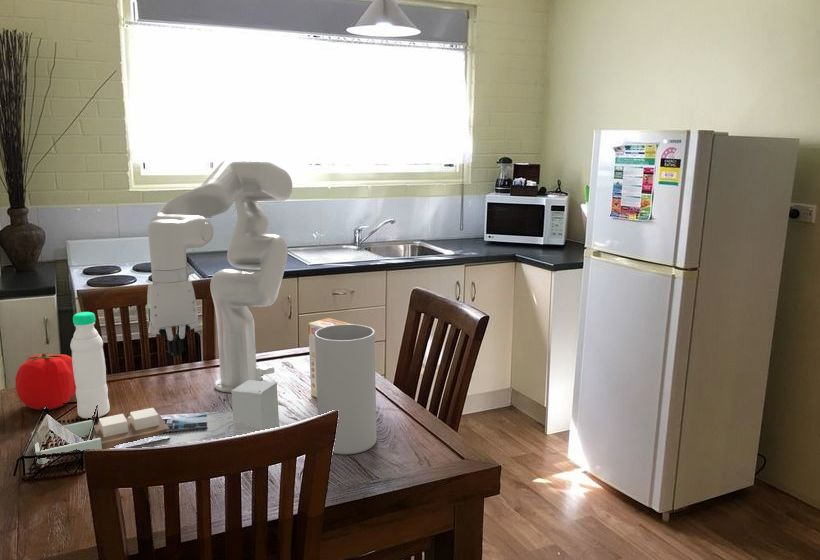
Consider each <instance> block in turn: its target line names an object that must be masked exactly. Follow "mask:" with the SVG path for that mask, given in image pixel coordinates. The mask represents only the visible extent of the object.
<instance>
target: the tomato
mask: <svg viewBox="0 0 820 560" xmlns="http://www.w3.org/2000/svg"><path fill="white" fill-rule="evenodd" d="M14 380H15V391H16V394H17V396H18V398H19V400H20V401H21V403H22V404H23V405H24V406H26V407H28V408H30V409H34V410H38V411H39V410H42V409H43V408H44V407H46V406H48V409H49V410H54V409H57V408H60V407H62V406H64V405H65V404H63V403H66V404H67V403H68V402H69V401H70V400H71V399H72V397H73V396H74V395H76V385H75V380H74V373H73V364H72V356H70V355H67V354H60V353H59V354H58V353H56V354H50V353H48V352H46V353H41V354H33V355H31V356H28V357H27V359H26V360H25V361H24V362H23V363H22V364H21V365H20V366H19V367H18V370H17V373H16V376H15V379H14Z"/></svg>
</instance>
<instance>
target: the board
mask: <svg viewBox="0 0 820 560" xmlns="http://www.w3.org/2000/svg"><path fill="white" fill-rule="evenodd" d="M156 412H157V411H156ZM157 414H158V418H159V425H158V426H153V427H149V428H144V429H140V430H135V429H134V427H133V425H132V423H131V417H128V418H126V420H127V423H128V432H126V433H121V434H116V435H112V436H107V437H103V435H102V433H101V430H100V425H99V423H98V424H93V425H94V435H95V437H96V438H101V445H102V449H106V448H115V447H114V446H116V445H119V444H123V443H128V442H133V441H137V440H140V439H144V438H148V437H153V436H158V435H161V434H163V433H164V432H165V431H167V430H169V431H170V427H169V426H168V425H166V424H167V423H166V421H165V420H164V419H163V417H162V416H161V415H160V413H159V412H157ZM165 423H166V424H165Z"/></svg>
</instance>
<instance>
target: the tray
mask: <svg viewBox="0 0 820 560" xmlns="http://www.w3.org/2000/svg"><path fill="white" fill-rule="evenodd" d="M93 422H94V421H93V419H89V420H88V419H87V420H83V421H78V422H74V423H70V424H64V425H62V426H63V427H64V428H66V429H68V430H69V431H71V432H72V433H74V434H76V435H78V436H81V437H85V435H88V434H89V432H90V429H91V427H92V425H94V423H93ZM33 432H34V431H31V435H32V434H33ZM49 434H50V436H51V437H53V436H54V435H53V433H51V432H50V433H49ZM76 449H77V450H86V449H102V445H101V438H96V437H95V435H94V437H93V439H92V440H87V441H82V442H78V443H73V444H68V445H64V446H59V447H54V448H50V449H45V450H41V451H40V447H39V443H38V442H37V443H36V444H35V452H36V455H42V454H52V453H61V452H69V451H73V450H76ZM35 452H34V453H35ZM49 460H50V459H46V458H40V459H37V461H36V464H37V463H38V464H45V463H47V462H48V461H49Z"/></svg>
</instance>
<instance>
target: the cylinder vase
mask: <svg viewBox="0 0 820 560" xmlns="http://www.w3.org/2000/svg"><path fill="white" fill-rule="evenodd" d="M375 333H376V332H375V329H374V328H372V327H371V326H368V325H362V324H354V323H349V324H341V325H332V326H327V327H323V328H320V329H318V330H317V331H316V332H315V354H316V381H317V397H316V403H317V416H318V415H321V414H324V413H327V412H329V411H332V410H339V419H338V425H337V432H336V440H335V445H334V451H333V453H332V454H334V455H353V454H354V455H355V454H360V453H363V452H366V451H368V450H370V449H371V448H373V446H374V445H375V444H376V443H377V437H378V436H377V434H378V433H377V390H376V388H377V387H376V337H375V335H376V334H375Z"/></svg>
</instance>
